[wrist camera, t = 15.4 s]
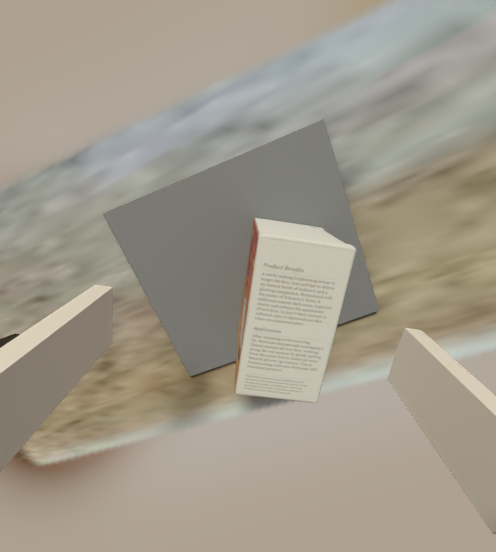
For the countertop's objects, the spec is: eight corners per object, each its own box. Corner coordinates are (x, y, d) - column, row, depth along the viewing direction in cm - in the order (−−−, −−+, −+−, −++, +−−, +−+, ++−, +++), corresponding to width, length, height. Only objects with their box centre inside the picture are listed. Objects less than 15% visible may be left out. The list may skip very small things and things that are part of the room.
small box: (236, 335, 27) (253, 216, 24) (298, 343, 27) (323, 226, 24) (232, 396, 19) (256, 231, 16) (319, 406, 19) (358, 245, 16)
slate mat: (322, 120, 22) (323, 119, 22) (376, 308, 27) (379, 310, 26) (105, 213, 24) (102, 213, 24) (190, 373, 29) (189, 376, 28)
